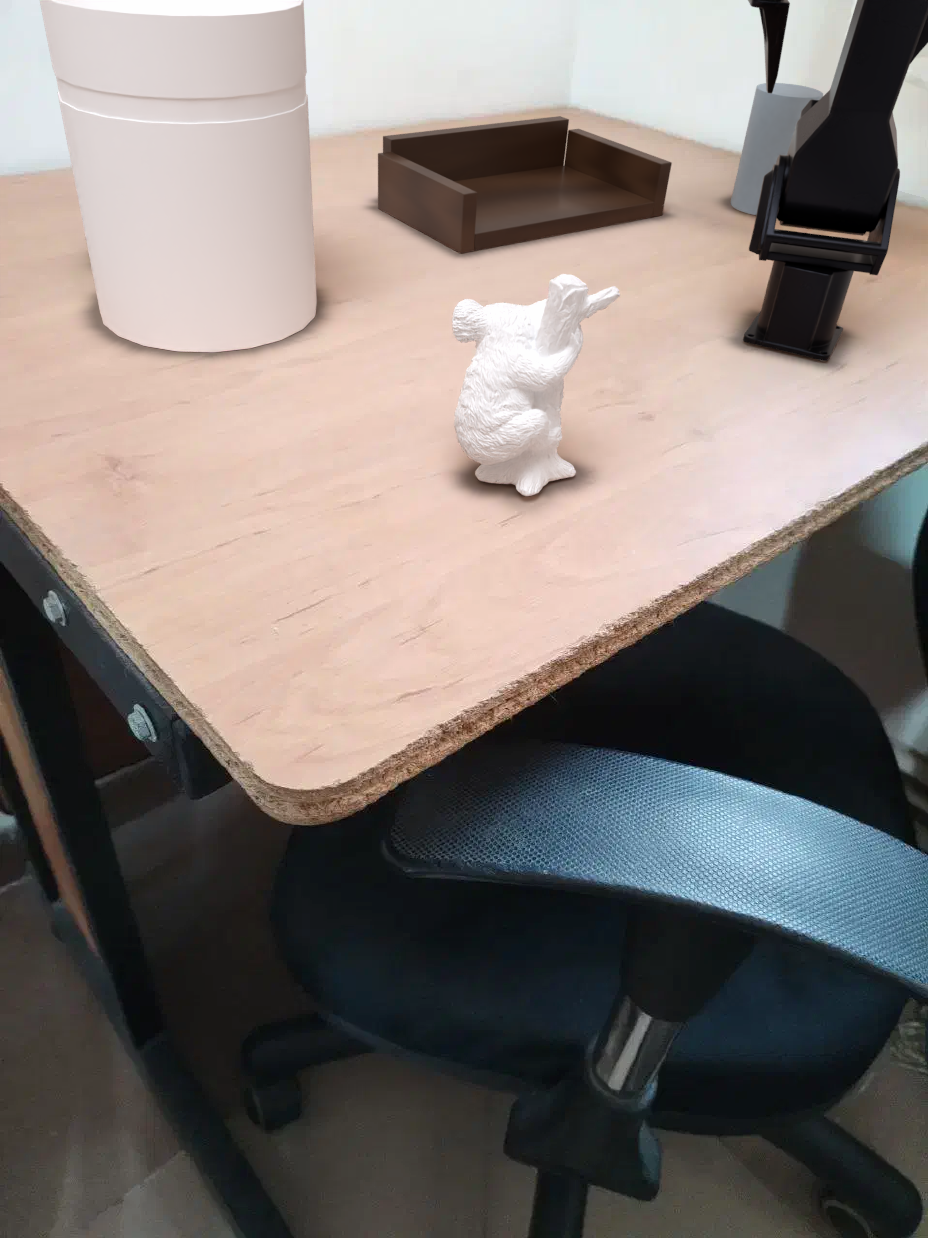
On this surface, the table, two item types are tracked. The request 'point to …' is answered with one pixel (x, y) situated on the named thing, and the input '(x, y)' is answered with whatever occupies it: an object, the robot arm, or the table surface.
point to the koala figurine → (521, 381)
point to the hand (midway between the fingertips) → (823, 96)
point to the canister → (190, 165)
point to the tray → (515, 182)
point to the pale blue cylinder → (767, 138)
